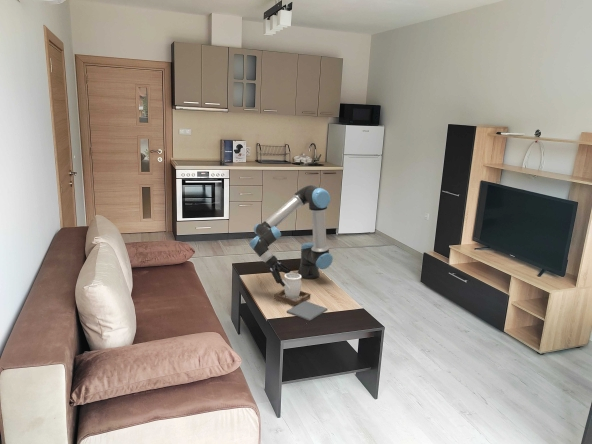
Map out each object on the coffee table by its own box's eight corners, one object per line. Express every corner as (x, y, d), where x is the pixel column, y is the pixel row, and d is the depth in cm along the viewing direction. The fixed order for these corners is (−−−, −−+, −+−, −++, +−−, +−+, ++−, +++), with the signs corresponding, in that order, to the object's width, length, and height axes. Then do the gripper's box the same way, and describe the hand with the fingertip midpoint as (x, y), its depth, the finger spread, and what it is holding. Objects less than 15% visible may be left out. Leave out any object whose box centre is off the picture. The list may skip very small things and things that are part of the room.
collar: (289, 291, 288) (289, 286, 287) (310, 298, 279) (310, 293, 278) (273, 298, 276) (273, 294, 275) (295, 306, 267) (295, 301, 266)
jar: (298, 303, 271) (299, 279, 267) (281, 301, 273) (282, 277, 269) (302, 296, 281) (303, 273, 278) (285, 294, 283) (286, 271, 280)
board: (305, 302, 273) (305, 300, 273) (327, 310, 264) (327, 308, 264) (286, 312, 259) (286, 310, 259) (309, 320, 250) (309, 319, 250)
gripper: (271, 256, 288) (293, 281, 288) (257, 268, 265) (280, 296, 264) (280, 249, 285) (301, 275, 285) (266, 261, 262) (289, 289, 262)
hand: (291, 285), depth 275 cm, fingers open, 13 cm apart
